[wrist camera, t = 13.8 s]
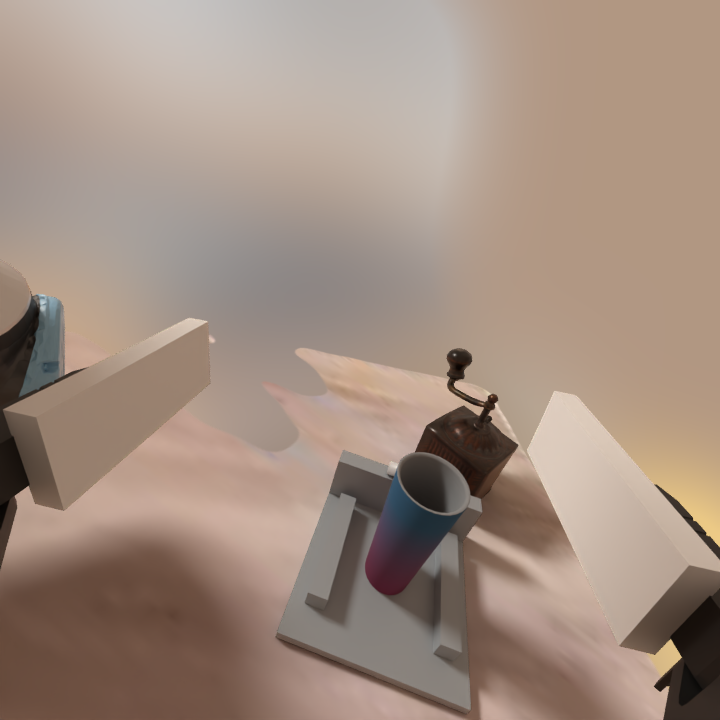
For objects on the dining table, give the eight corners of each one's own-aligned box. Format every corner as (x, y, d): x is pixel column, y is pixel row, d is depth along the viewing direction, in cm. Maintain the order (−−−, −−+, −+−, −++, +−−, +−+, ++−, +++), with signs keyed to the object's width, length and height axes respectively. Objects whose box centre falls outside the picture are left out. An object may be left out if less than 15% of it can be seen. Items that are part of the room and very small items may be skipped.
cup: (427, 574, 39) (483, 487, 31) (391, 621, 34) (447, 531, 26) (382, 529, 42) (423, 441, 35) (344, 566, 37) (381, 473, 30)
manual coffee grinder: (495, 485, 55) (554, 397, 46) (459, 520, 47) (521, 423, 39) (422, 425, 63) (460, 341, 55) (382, 446, 56) (418, 353, 47)
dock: (275, 637, 31) (288, 589, 27) (332, 486, 47) (346, 440, 43) (466, 714, 30) (511, 676, 26) (458, 532, 46) (486, 490, 41)
